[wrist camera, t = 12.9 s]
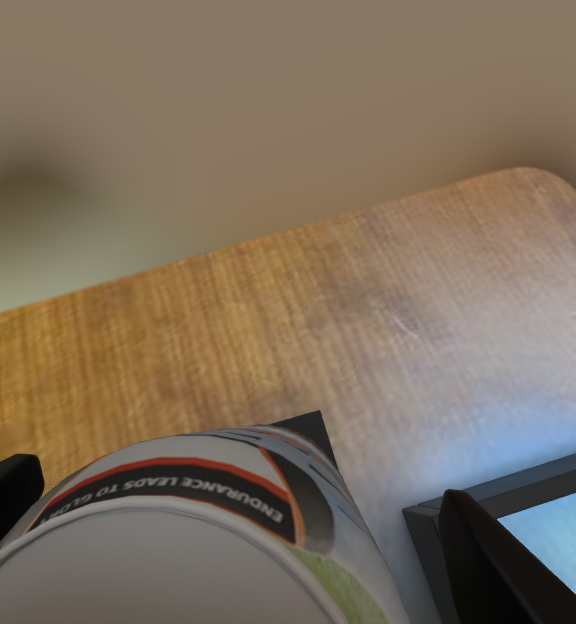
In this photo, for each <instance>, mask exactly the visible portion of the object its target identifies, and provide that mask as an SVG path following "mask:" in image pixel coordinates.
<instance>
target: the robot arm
mask: <svg viewBox="0 0 576 624" xmlns="http://www.w3.org/2000/svg"><path fill="white" fill-rule="evenodd" d="M44 484H45V483H44V478H43V474H42V469H41V465H40V461H39V458H38V457H37V456H36V455H32V454H15V455H13V456H11V457H9V458H7V459H5V460H3V461H1V462H0V541H1V540H2V539H3V537H4V536H5V535H6V534H7V533H8V532H9V531H10V530H11V529H12V527H13V526H14V525H15V524H16V523H17V522H18V521H19V520H20V518H21V517H22V516H23V515H24V514H25V513H26V512H27V511H28V510H29V508H30V507H31V506H32V505H34V504H35V503H36V502H37V501H38V500H39V499H40V497H41V495H42V493H43V490H44ZM438 530H439V535H440V540H441V545H442V550H443V555H444V560H445V564H446V569H447V574H448V579H449V584H450V589H451V593H452V598H453V602H454V607H455V611H456V614H457V618H458V621H459V624H576V594H575V593H573V592H572V591H571V590H570V589H569V588H568V587H567V586H566V585H565V584H564V583H563V582H562V581H561V580H560V579H559V578H558V577H557V576H556V575H555V574H553V573H552V572H551V571H550V570H549V569H548V568H547V567H546V566H545V565H544V564H543V563H542V562H541V561H540V560H539V559H538V558H537V557H536V556H534V555H533V554H532V553H531V552H530V551H529V550H528V549H527V548H526V547H525V546H524V545H523V544H522V543H521V542H520V541H519V540H518V539H517V538H515V537H514V536H513V535H512V534H511V533H510V532H509V531H508V530H507V529H506V528H505V527H504V526H503V525H502V524H501V523H500V522H499V521H498V520H496V519H495V518H494V517H493V516H492V515H491V514H490V513H489V512H488V511H487V510H486V509H485V508H484V507H483V506H482V505H481V504H480V503H479V502H477V501H476V500H475V499H474V498H473V497H472V496H471V495H470V494H469V493H468V492H466V491H463V490H453V489H448V490H446V491H445V492H444V495H443V499H442V503H441V507H440V511H439V515H438Z"/></svg>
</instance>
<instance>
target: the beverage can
mask: <svg viewBox="0 0 576 624" xmlns="http://www.w3.org/2000/svg"><path fill="white" fill-rule="evenodd" d="M0 624H410V620H409V617H408V615H407V612H406V610H405V607H404V605H403V602H402V599H401V597H400V594H399V592H398V589H397V587H396V584H395V581H394V579H393V576H392V574H391V572H390V570H389V568H388V566H387V564H386V562H385V560H384V558H383V556H382V554H381V552H380V551H379V549H378V547H377V545H376V543H375V541H374V539H373V537H372V535H371V533H370V531H369V529H368V527H367V525H366V523H365V521H364V519H363V517H362V516H361V514H360V512H359V510H358V508H357V506H356V504H355V502H354V500H353V498H352V496H351V494H350V492H349V490H348V488H347V486H346V484H345V482H344V481H343V479H342V477H341V475H340V473H339V471H338V470H337V468H336V466H335V464H334V463H333V461H332V460H331V459H330V457H329V456H328V455H327V454H326V452H325V451H324V450H323V449H322V448H321V447H320V446H318V445H317V444H316V443H315V442H314V441H313V440H311V439H310V438H308V437H306V436H305V435H303V434H301V433H300V432H297V431H295V430H292V429H289V428H286V427H282V426H276V425H253V426H245V427H237V428H229V429H221V430H213V431H205V432H197V433H189V434H181V435H174V436H168V437H163V438H158V439H153V440H148V441H142V442H138V443H135V444H133V445H130V446H128V447H125V448H122V449H120V450H117V451H115V452H112V453H109V454H107V455H104V456H102V457H100V458H98V459H97V460H95V461H93V462H92V463H90V464H88V465H87V466H85V467H83V468H81V469H80V470H78V471H76V472H75V473H73V474H71V475H70V476H68V477H66V478H65V479H64V480H63V481H61V482H60V483H59V484H58V485H57V486H55V487H54V488H53V489H52V490H51V491H49V492H48V493H47V494H46V495H44V496H43V497H42V498H41V499H40V500H38V501H37V502H36V503H35V504H34V505H32V506H31V507H30V508H29V510H28V511H27V512H26V513H25V514H24V515H23V516H22V517H21V518H20V520H19V521H18V522H17V523H16V524H15V525H14V526H13V527H12V529H11V530H10V531H9V532H8V533H7V534H6V535H5V536H4V537H3V539H2V540H1V541H0Z"/></svg>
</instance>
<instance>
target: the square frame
mask: <svg viewBox="0 0 576 624" xmlns="http://www.w3.org/2000/svg"><path fill="white" fill-rule="evenodd" d="M463 491H466V492H468V493H469V494H470V495H471V496H472V497H473V498H474V499H475V500H476V501H477V502H479V503H480V504H481V505H482V506H483V507H484V508H485V509H486V510H487V511H488V512H489V513H490V514H491V515H492V516H493V517H494V518H495V519H498V518H501V517H504V516H507V515H510V514H513V513H516V512H519V511H522V510H525V509H528V508H531V507H534V506H537V505H540V504H543V503H546V502H549V501H552V500H555V499H558V498H562V497H565V496H568V495H571V494H574V493H576V454H573V455H570V456H567V457H564V458H561V459H557V460H554V461H551V462H548V463H545V464H542V465H539V466H536V467H533V468H529V469H526V470H523V471H520V472H517V473H514V474H511V475H508V476H504V477H501V478H498V479H495V480H492V481H489V482H486V483H483V484H480V485H476V486H473V487H470V488H467V489H464V490H463ZM442 499H443V496H442V497H439V498H436V499H433V500H430V501H426V502H423V503H420V504H418V505H417V506H416V505H414V506H411V507H408V508H405V509H403V510H402V512H403V514H404V517H405V520H406V523H407V526H408V529H409V531H410V534H411V537H412V540H413V543H414V545H415V548H416V551H417V554H418V557H419V559H420V562H421V565H422V568H423V571H424V573H425V576H426V579H427V582H428V585H429V587H430V590H431V593H432V596H433V599H434V601H435V604H436V607H437V610H438V613H439V615H440V618H441V621H442V624H459V621H458V618H457V614H456V611H455V607H454V602H453V598H452V593H451V589H450V584H449V579H448V574H447V569H446V564H445V560H444V555H443V550H442V545H441V540H440V535H439V530H438V515H439V511H440V507H441V503H442Z"/></svg>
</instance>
